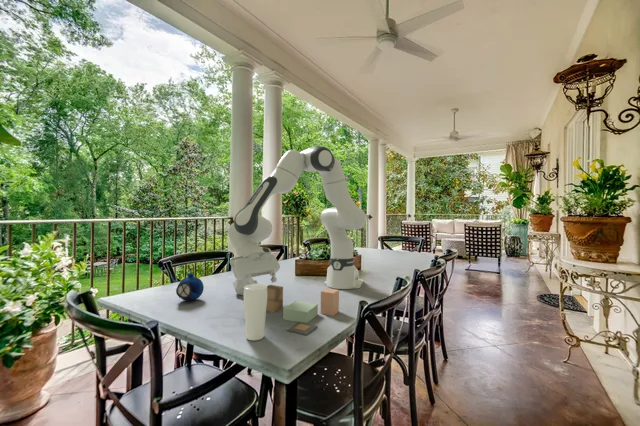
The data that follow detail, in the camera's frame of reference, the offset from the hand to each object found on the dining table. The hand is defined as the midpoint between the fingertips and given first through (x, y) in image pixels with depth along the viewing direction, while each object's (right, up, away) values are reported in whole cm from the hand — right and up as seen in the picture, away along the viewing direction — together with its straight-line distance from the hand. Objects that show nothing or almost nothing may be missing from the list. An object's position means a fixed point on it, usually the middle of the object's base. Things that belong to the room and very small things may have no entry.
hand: (265, 283), depth 114 cm
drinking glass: (+2, -9, -28) cm, 29 cm away
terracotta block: (+25, -9, -6) cm, 27 cm away
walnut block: (+3, -9, -2) cm, 10 cm away
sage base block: (+14, -9, -10) cm, 20 cm away
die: (-13, -9, +16) cm, 22 cm away
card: (+16, -9, -21) cm, 28 cm away
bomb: (-32, -8, +5) cm, 33 cm away
